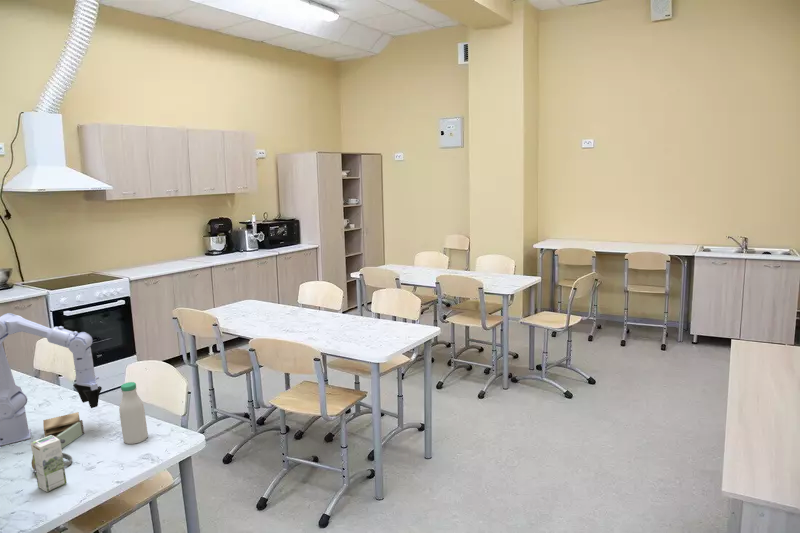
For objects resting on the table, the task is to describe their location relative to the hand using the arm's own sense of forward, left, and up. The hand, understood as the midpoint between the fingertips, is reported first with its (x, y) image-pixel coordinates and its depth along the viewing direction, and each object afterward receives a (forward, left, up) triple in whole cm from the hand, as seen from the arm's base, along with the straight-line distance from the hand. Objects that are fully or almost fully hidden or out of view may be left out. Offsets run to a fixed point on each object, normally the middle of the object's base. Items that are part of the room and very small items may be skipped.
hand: (90, 404), depth 205 cm
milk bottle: (+12, -16, -10) cm, 23 cm away
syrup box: (-13, -33, -10) cm, 37 cm away
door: (-7, -5, -10) cm, 13 cm away
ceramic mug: (-13, -21, -10) cm, 26 cm away
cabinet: (-9, +5, -10) cm, 14 cm away
